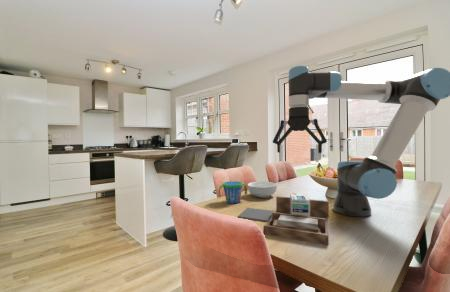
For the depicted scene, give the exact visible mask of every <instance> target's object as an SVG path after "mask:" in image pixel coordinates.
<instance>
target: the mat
mask: <svg viewBox="0 0 450 292" xmlns="http://www.w3.org/2000/svg"><path fill="white" fill-rule="evenodd" d="M272 212H276V210H270V209H262V208H261V209H260V208H254V207H247V208H245V209H244V210H243V211H242V212H241V213H240V214H238V216H237V218H238V217H240V218H239V219H244V218H245V220H251V221H260V222H266V223H268V221H269V220H270V219H271V217H272Z"/></svg>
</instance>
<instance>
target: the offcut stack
mask: <svg viewBox="0 0 450 292" xmlns="http://www.w3.org/2000/svg"><path fill="white" fill-rule="evenodd" d="M273 226H276V227H283V228H290V229H296V230H303V231H310V232H317V233H321V232H320V229H318V219H312V218H304V217H295V216H286V215H280V217H279V219H278V220H274V222H273Z"/></svg>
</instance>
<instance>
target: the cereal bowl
mask: <svg viewBox="0 0 450 292" xmlns="http://www.w3.org/2000/svg"><path fill="white" fill-rule="evenodd" d="M277 187H278V185H277V183H276V182H271V181H252V182H248V183H247V191H248V192H249V193H250V194H251V195H253V196H255V197H256V198H260V197H261V198H262V199H263V198H269V197H270V196H272V195H274V194H275V193H276V191H277V189H278V188H277ZM261 198H260V199H261Z"/></svg>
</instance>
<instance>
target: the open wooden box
mask: <svg viewBox="0 0 450 292" xmlns="http://www.w3.org/2000/svg"><path fill="white" fill-rule="evenodd" d="M309 199H310V198H309ZM329 201H330V200H323V199H321V200H320V199H310V217H309V216H301V215H293V214H291V207H290V196H289V197H287V196H280V195H279V196H278V195H277V196H276V201H275V203H276V205H275V206H276V209H275V212H272V216H271V218H270V219H269V221H268V222H266V224H263V235H265V236H267V235H268V236H273V237H280V238H286V239H289V240H290V239H292V240H298V241H302V242H303V241H305V242H309V243H315V244H321V245H326V244H327V245H329V243H330V242H329V241H330V240H329V239H330V238H329V236H330V234H329V221H330V220H329V219H330V218H329V211H330V210H329V209H330V207H329V204H330V202H329ZM280 215H286V216H295V217H304V218H312V219H318V229H320V232H321V233H317V232H310V231H303V230H296V229H290V228H283V227H276V226H273V222H274V220H278V219H279V217H280ZM327 245H326V246H327Z"/></svg>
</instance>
